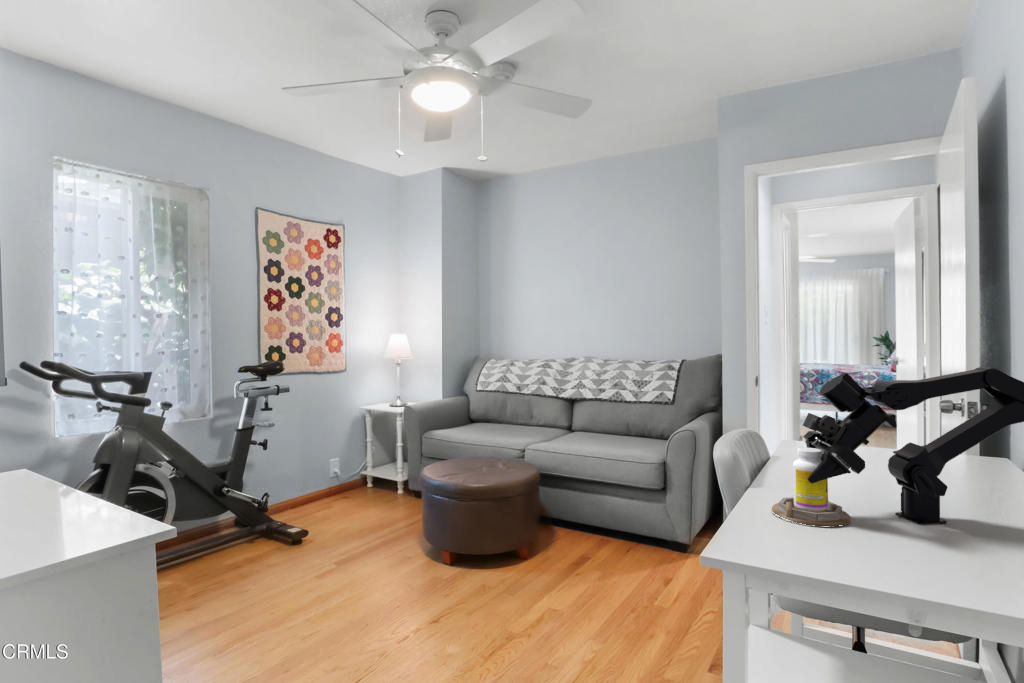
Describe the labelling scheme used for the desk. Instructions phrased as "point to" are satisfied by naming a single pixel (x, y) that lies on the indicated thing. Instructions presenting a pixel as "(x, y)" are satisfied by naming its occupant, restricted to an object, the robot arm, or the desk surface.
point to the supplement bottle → (805, 492)
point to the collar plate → (809, 522)
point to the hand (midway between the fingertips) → (803, 477)
